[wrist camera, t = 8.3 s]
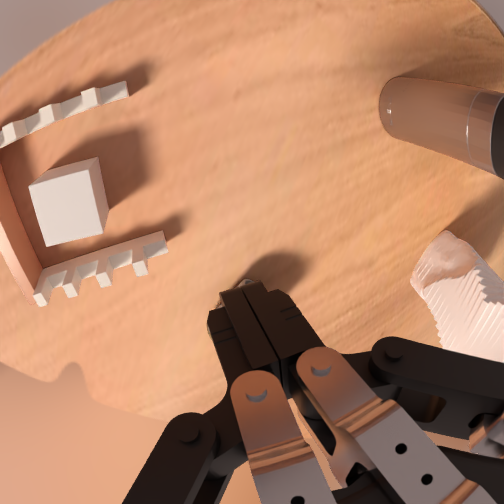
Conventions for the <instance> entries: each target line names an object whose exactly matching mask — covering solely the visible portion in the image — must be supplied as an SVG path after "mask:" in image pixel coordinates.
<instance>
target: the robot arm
mask: <svg viewBox="0 0 504 504" xmlns="http://www.w3.org/2000/svg"><path fill="white" fill-rule="evenodd" d="M379 112H380V118H381V121H382V124H383V126H384V128H385V129H386V131H387V132H388V133H389V134H390V135H391V136H392V137H394V138H397V139H400V140H403V141H406V142H410V143H413V144H416V145H418V146H421V147H424V148H427V149H430V150H433V151H436V152H439V153H442V154H444V155H447V156H450V157H452V158H455V159H458V160H460V161H463V162H465V163H468V164H470V165H473V166H475V167H477V168H480V169H482V170H485V171H487V172H489V173H492V174H494V175H496V176H498V177H500V178H502V179H504V93H500V92H496V91H492V90H487V89H482V88H477V87H472V86H467V85H461V84H456V83H449V82H442V81H435V80H427V79H419V78H408V77H396V78H393V79H391V80H390V81H389V82H388V83H387V84H386V85H385V87H384V88H383V90H382V93H381V96H380V101H379ZM219 295H220V300H221V304H222V307H221V308H217V309H214V310H211V311H209V315H208V320H207V324H208V327H209V331H210V334H211V337H212V340H213V343H214V346H215V349H216V352H217V355H218V358H219V360H220V363H221V366H222V369H223V372H224V374H225V377H226V380H227V385H228V386H227V391H226V394H225V396H224V398H223V399H222V401H221V402H220V403H219V404H218V405H216V406H215V407H214V408H212V409H211V410H209V411H207V412H206V413H204V414H203V415H202V414H199V413H193V412H190V413H183V414H180V415H178V416H176V417H175V418H173V419H172V420H171V421H170V422H169V423H168V425H167V426H166V428H165V430H164V432H163V433H162V435H161V437H160V439H159V440H158V442H157V444H156V445H155V447H154V449H153V451H152V452H151V454H150V456H149V458H148V459H147V461H146V463H145V465H144V467H143V468H142V470H141V471H140V473H139V475H138V477H137V478H136V480H135V482H134V484H133V485H132V487H131V489H130V490H129V492H128V494H127V496H126V497H125V499H124V501H123V502H122V504H219V503H220V501H221V499H222V496H223V494H224V492H225V490H226V488H227V485H228V483H229V481H230V479H231V476H232V474H233V472H234V470H235V469H236V468H237V467H239V466H240V465H242V464H243V463H244V462H246V461H247V460H249V465H250V469H251V473H252V476H253V479H254V482H255V486H256V489H257V492H258V495H259V498H260V501H261V503H262V504H504V363H502V362H498V361H493V360H489V359H484V358H480V357H476V356H471V355H467V354H463V353H459V352H454V351H450V350H446V349H442V348H438V347H434V346H430V345H426V344H422V343H419V342H415V341H411V340H407V339H403V338H399V337H393V336H391V337H385V338H382V339H380V340H378V341H377V342H376V343H375V344H374V346H373V347H372V351H367V352H361V353H355V354H341V353H339V352H337V351H336V350H334V349H332V348H328V347H326V346H325V345H324V344H323V342H322V341H321V340H320V338H319V337H318V335H317V334H316V333H315V331H314V330H313V328H312V327H311V326H310V324H309V323H308V321H307V320H306V319H305V317H304V316H303V315H302V313H301V312H300V310H299V309H298V307H296V305H295V303H294V302H293V300H292V299H291V298H290V296H289V295H287V294H285V293H284V292H282V291H280V290H278V289H277V290H274V291H271V292H267V290H266V288H265V287H264V285H263V284H262V282H261V281H260V280H258V281H255V282H252V283H249V284H245V285H242V286H240V287H236V288H233V289H229V290H226V291H223V292H220V293H219ZM290 398H293V400H294V401H295V403H296V405H297V409H298V416H299V418H300V419H301V421H302V422H303V424H304V425H305V427H306V428H307V430H308V431H309V433H310V434H311V436H312V437H313V439H314V440H315V442H316V443H317V445H318V446H319V448H320V449H321V451H322V452H323V453H324V455H325V457H326V458H327V460H328V462H329V466H330V469H331V471H332V473H333V475H334V476H335V477H336V479H337V480H338V482H339V484H340V485H341V486H342V489H338V490H334V491H331V490H330V488H329V486H328V484H327V481H326V479H325V477H324V475H323V472H322V470H321V468H320V465H319V463H318V461H317V459H316V457H315V454H314V452H313V450H312V449H311V447H310V445H309V444H308V443H306V442H305V440H304V438H303V436H302V434H301V431H300V429H299V426H298V424H297V422H296V419H295V417H294V415H293V412H292V410H291V407H290V405H289V403H288V399H290ZM423 430H424V431H429V432H433V433H437V434H441V435H446V436H451V437H455V438H461V439H466V440H469V441H470V444H469V450H470V451H471V452H472V453H469V452H465V451H460V450H456V449H452V448H448V447H443V446H436V445H435V444H434V443H433V442H432V440H431V439H430V438H429V437H428V436H427V435H426V434H425V433H424V432H423ZM474 453H478V454H474ZM479 454H480V455H479Z"/></svg>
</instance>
